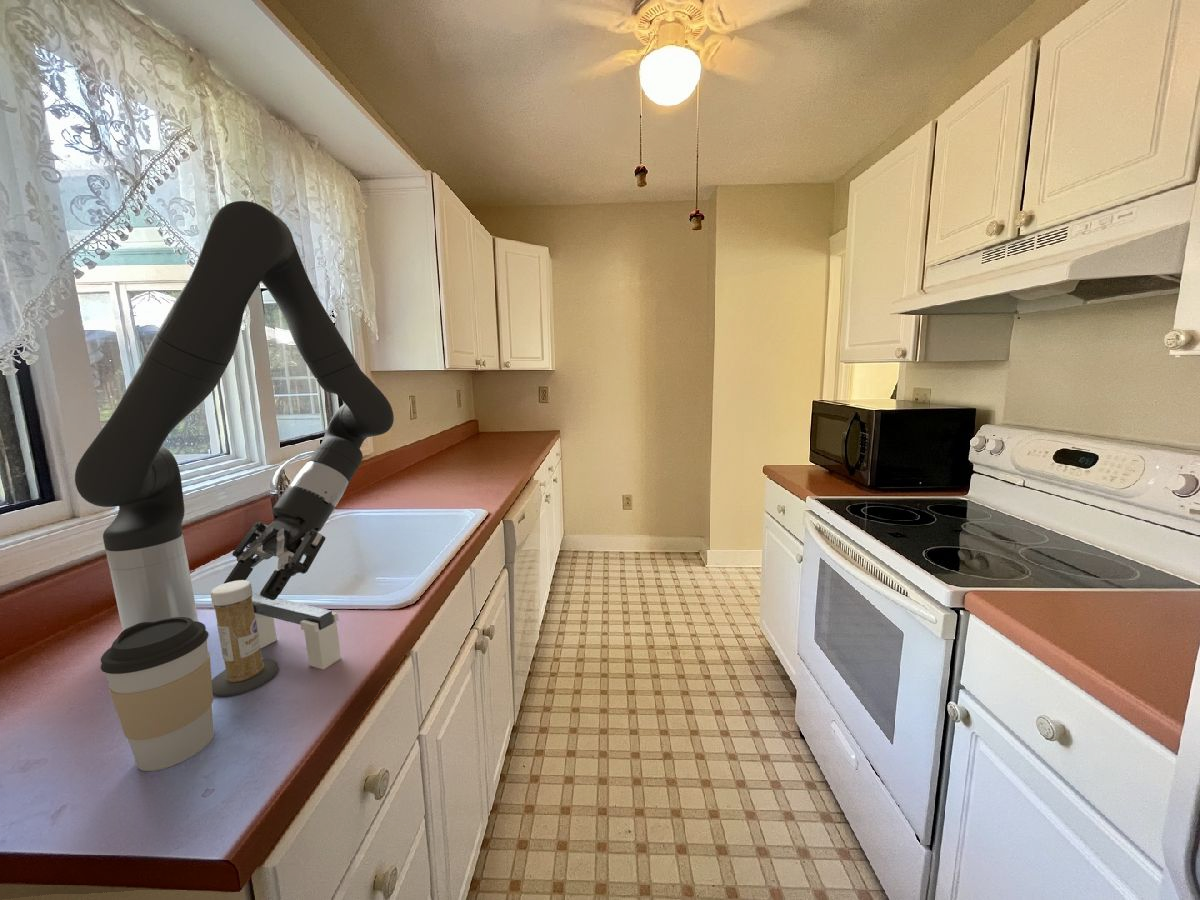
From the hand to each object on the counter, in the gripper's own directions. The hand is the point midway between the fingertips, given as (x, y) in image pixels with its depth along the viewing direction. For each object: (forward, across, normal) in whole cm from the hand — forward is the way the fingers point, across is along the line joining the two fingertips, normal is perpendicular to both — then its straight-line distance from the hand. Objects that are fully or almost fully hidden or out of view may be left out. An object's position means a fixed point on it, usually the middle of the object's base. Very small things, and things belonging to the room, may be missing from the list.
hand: (247, 593), depth 69 cm
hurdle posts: (+5, 0, +12) cm, 13 cm away
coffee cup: (+18, +7, -1) cm, 19 cm away
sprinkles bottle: (+10, 0, +7) cm, 12 cm away
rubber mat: (+10, 0, +7) cm, 12 cm away
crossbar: (+1, 0, +8) cm, 8 cm away
